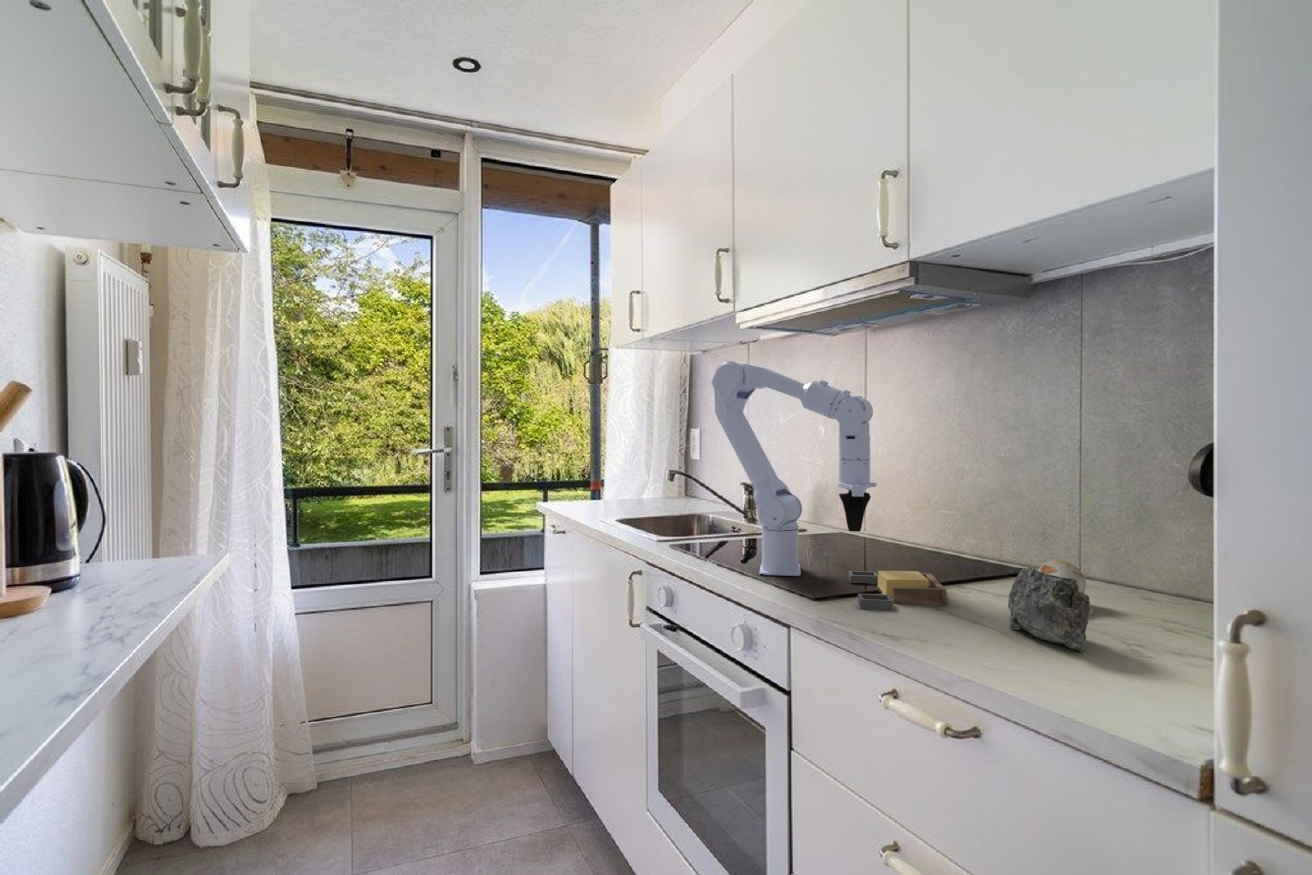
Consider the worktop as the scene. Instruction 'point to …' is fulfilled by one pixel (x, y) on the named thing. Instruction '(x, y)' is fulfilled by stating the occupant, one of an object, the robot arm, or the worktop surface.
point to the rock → (1049, 608)
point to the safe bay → (921, 593)
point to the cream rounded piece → (1065, 573)
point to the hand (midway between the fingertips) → (854, 530)
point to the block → (900, 580)
